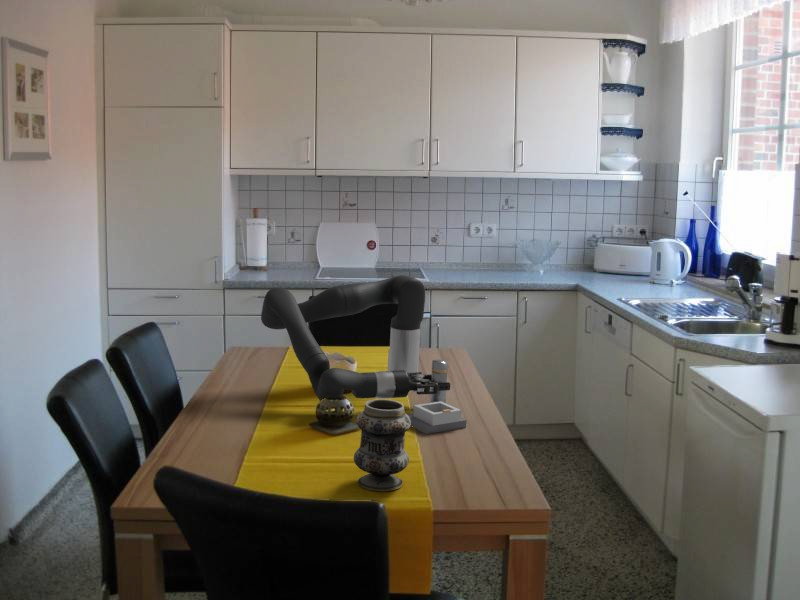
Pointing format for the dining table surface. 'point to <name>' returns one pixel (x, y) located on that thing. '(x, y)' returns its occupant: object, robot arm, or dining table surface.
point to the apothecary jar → (382, 444)
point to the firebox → (436, 417)
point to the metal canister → (439, 379)
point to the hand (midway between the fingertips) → (444, 382)
